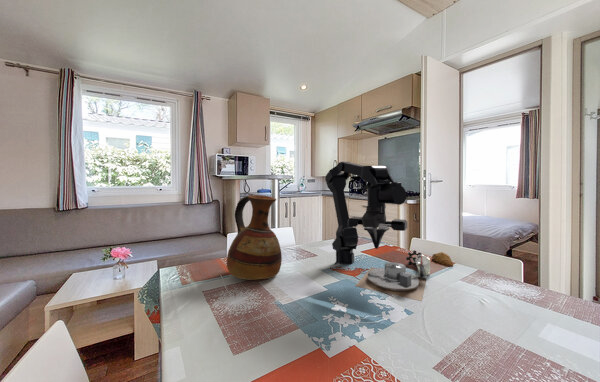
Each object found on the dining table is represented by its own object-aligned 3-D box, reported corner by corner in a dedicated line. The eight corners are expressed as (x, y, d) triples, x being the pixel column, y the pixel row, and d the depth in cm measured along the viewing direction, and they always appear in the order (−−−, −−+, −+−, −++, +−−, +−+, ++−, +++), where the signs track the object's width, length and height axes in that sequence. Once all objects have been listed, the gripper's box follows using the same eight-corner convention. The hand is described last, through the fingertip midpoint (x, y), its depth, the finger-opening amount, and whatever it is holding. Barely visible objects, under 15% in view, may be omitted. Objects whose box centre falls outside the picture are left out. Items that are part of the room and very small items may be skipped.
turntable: (404, 296, 68) (404, 280, 68) (358, 279, 80) (358, 266, 79) (427, 281, 78) (427, 267, 78) (383, 268, 90) (383, 256, 90)
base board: (354, 289, 76) (354, 285, 76) (371, 270, 92) (371, 266, 92) (421, 304, 66) (421, 300, 66) (427, 280, 82) (427, 276, 82)
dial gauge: (414, 278, 81) (414, 255, 81) (415, 275, 84) (415, 252, 83) (428, 280, 79) (428, 256, 79) (428, 277, 81) (428, 254, 81)
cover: (400, 284, 73) (400, 270, 72) (379, 277, 78) (379, 265, 78) (410, 278, 77) (410, 265, 77) (390, 272, 82) (390, 260, 82)
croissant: (425, 258, 105) (425, 247, 105) (441, 258, 105) (441, 247, 105) (441, 270, 92) (441, 257, 92) (460, 270, 91) (460, 257, 91)
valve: (436, 279, 83) (422, 266, 95) (436, 260, 83) (423, 250, 95) (416, 278, 84) (405, 266, 96) (416, 259, 84) (405, 250, 96)
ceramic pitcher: (267, 290, 76) (265, 196, 74) (214, 282, 82) (212, 195, 81) (290, 269, 94) (288, 193, 93) (245, 264, 101) (243, 193, 100)
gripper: (341, 203, 79) (341, 250, 80) (401, 205, 69) (401, 259, 69) (353, 201, 89) (353, 243, 89) (407, 202, 78) (407, 249, 79)
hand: (376, 248), depth 81 cm, fingers closed
